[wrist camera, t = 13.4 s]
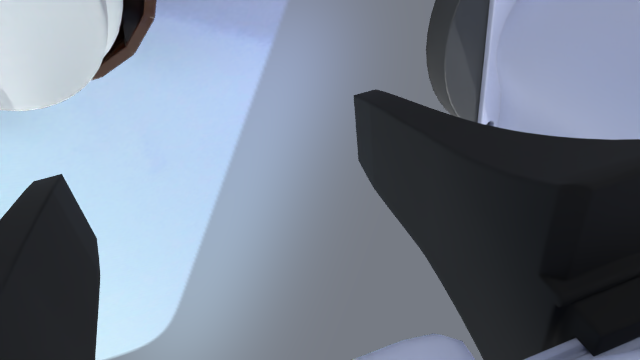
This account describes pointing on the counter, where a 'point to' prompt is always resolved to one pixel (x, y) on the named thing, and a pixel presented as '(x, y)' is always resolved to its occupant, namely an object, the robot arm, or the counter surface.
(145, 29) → the cup
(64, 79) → the pill bottle
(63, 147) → the counter surface
